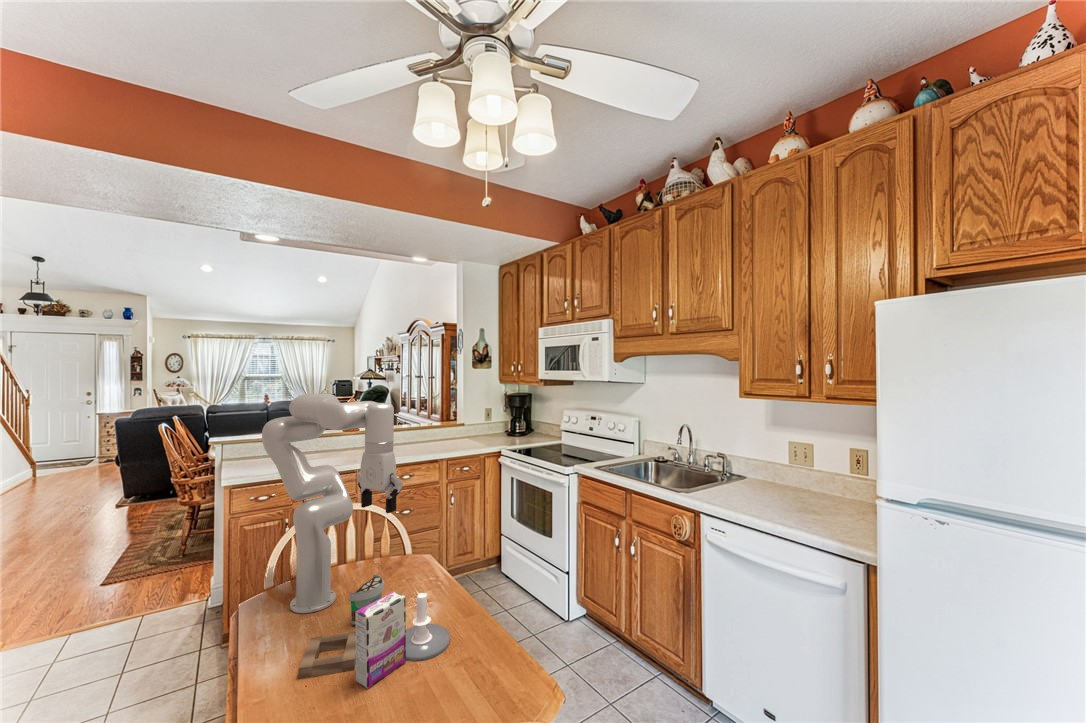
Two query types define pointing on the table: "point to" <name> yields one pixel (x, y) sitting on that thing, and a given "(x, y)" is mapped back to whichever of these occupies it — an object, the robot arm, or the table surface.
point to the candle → (421, 621)
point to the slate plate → (428, 649)
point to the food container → (366, 595)
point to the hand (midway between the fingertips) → (378, 509)
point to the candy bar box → (380, 638)
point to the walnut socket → (331, 664)
